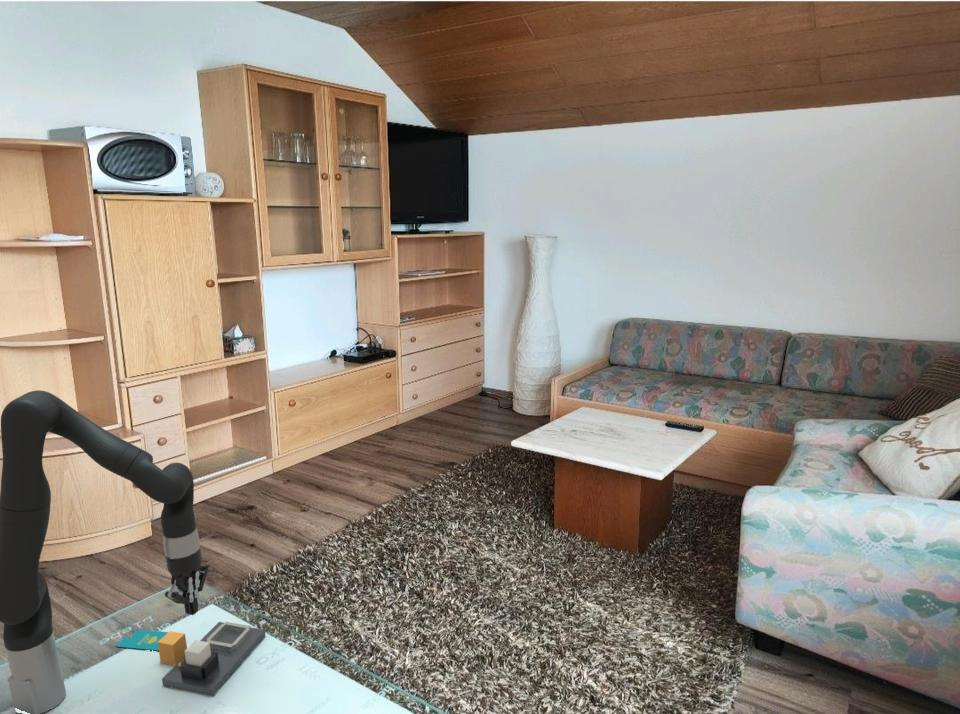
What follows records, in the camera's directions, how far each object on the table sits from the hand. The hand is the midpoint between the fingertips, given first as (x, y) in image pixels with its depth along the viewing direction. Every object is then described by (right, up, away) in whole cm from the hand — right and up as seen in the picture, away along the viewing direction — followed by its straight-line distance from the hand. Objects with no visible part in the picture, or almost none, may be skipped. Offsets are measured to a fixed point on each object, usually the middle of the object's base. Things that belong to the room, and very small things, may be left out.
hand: (192, 612), depth 158 cm
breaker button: (0, -13, +3) cm, 13 cm away
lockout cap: (-9, -16, +11) cm, 21 cm away
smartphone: (-19, -15, +18) cm, 30 cm away
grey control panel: (+2, -16, +10) cm, 19 cm away
